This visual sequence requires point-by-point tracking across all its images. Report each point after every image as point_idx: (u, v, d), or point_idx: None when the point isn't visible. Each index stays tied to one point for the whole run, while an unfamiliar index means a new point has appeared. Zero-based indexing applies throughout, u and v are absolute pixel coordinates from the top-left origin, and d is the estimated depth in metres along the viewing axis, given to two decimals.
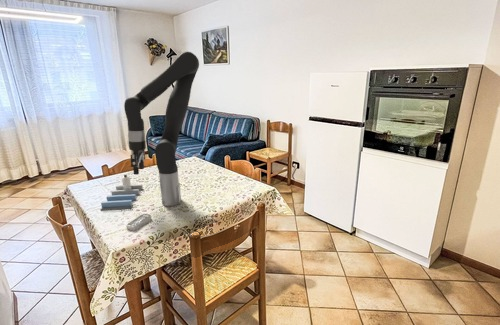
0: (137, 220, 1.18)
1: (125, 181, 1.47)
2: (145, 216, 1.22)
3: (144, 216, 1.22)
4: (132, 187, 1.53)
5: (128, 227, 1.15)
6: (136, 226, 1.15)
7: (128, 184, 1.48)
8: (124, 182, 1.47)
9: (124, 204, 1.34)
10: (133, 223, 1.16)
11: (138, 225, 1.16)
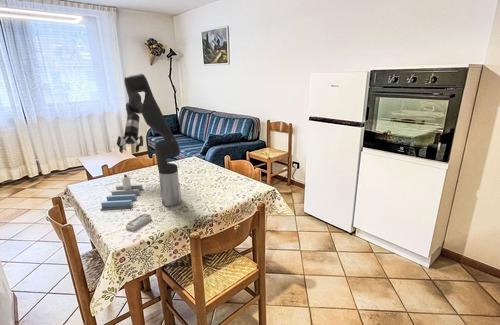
0: (137, 220, 1.18)
1: (125, 181, 1.47)
2: (145, 216, 1.22)
3: (144, 216, 1.22)
4: (132, 187, 1.53)
5: (127, 227, 1.15)
6: (135, 226, 1.15)
7: (128, 184, 1.48)
8: (124, 182, 1.47)
9: (124, 204, 1.34)
10: (132, 223, 1.16)
11: (137, 225, 1.16)
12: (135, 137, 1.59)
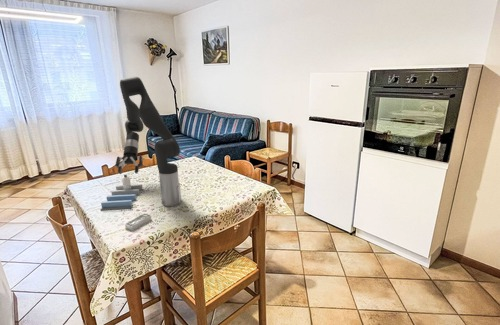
0: (136, 220, 1.19)
1: (125, 181, 1.47)
2: (145, 216, 1.22)
3: (144, 216, 1.22)
4: (132, 187, 1.53)
5: (127, 227, 1.15)
6: (134, 226, 1.15)
7: (128, 184, 1.48)
8: (124, 182, 1.47)
9: (124, 204, 1.34)
10: (132, 223, 1.16)
11: (136, 225, 1.16)
12: (134, 157, 1.56)
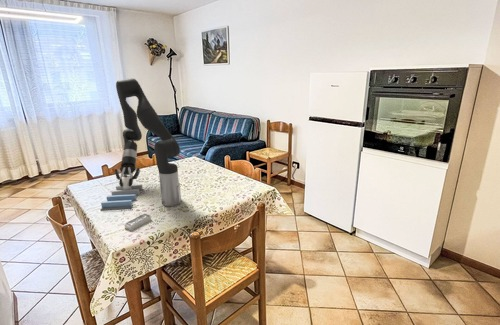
0: (136, 220, 1.19)
1: (125, 181, 1.47)
2: (144, 216, 1.22)
3: (144, 216, 1.22)
4: (132, 187, 1.53)
5: (126, 226, 1.15)
6: (133, 226, 1.15)
7: (128, 184, 1.48)
8: (124, 182, 1.47)
9: (124, 204, 1.34)
10: (131, 223, 1.16)
11: (136, 225, 1.16)
12: (132, 169, 1.51)
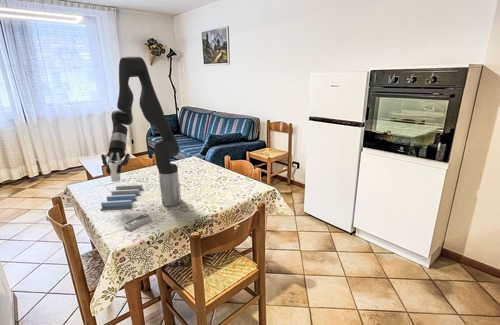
0: (135, 220, 1.19)
1: (113, 168, 1.30)
2: (144, 216, 1.22)
3: (143, 216, 1.22)
4: (132, 187, 1.53)
5: (125, 226, 1.15)
6: (132, 226, 1.15)
7: (116, 171, 1.31)
8: (111, 169, 1.30)
9: (124, 204, 1.34)
10: (130, 222, 1.16)
11: (135, 225, 1.16)
12: (121, 154, 1.35)
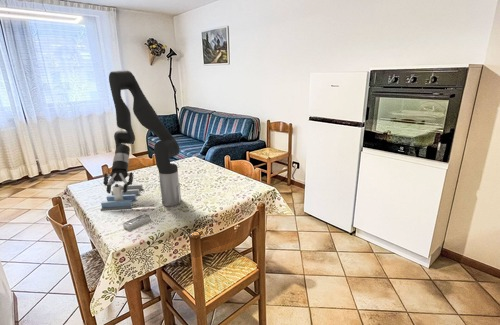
0: (135, 220, 1.19)
1: (116, 191, 1.34)
2: (144, 216, 1.21)
3: (143, 216, 1.22)
4: (132, 187, 1.53)
5: (124, 226, 1.16)
6: (131, 226, 1.15)
7: (119, 194, 1.35)
8: (115, 192, 1.34)
9: (124, 204, 1.34)
10: (129, 222, 1.17)
11: (134, 225, 1.16)
12: (124, 174, 1.38)
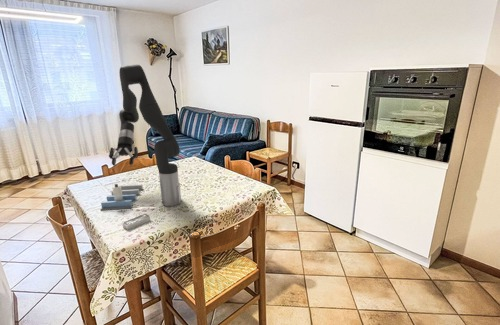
0: (134, 219, 1.19)
1: (116, 191, 1.34)
2: (144, 216, 1.21)
3: (143, 216, 1.22)
4: (132, 187, 1.53)
5: (123, 225, 1.16)
6: (130, 226, 1.15)
7: (119, 194, 1.35)
8: (115, 192, 1.34)
9: (124, 204, 1.34)
10: (129, 222, 1.17)
11: (133, 225, 1.16)
12: (129, 148, 1.47)
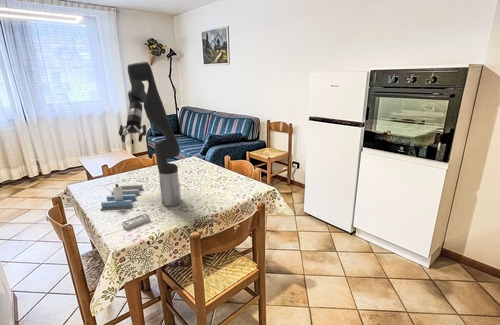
0: (134, 219, 1.19)
1: (117, 191, 1.33)
2: (144, 217, 1.21)
3: (143, 216, 1.22)
4: (132, 187, 1.53)
5: (123, 225, 1.16)
6: (129, 225, 1.15)
7: (120, 194, 1.35)
8: (115, 192, 1.34)
9: (124, 204, 1.34)
10: (128, 222, 1.17)
11: (132, 225, 1.16)
12: (138, 126, 1.52)
